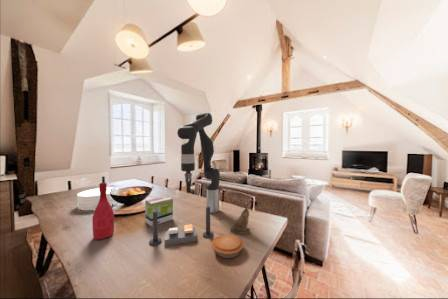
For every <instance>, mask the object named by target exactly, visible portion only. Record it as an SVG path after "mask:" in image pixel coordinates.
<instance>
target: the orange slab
mask: <svg viewBox="0 0 448 299" xmlns="http://www.w3.org/2000/svg"><path fill="white" fill-rule="evenodd" d="M193 228H194V227H193V224H192V223H190V224H185V225H183V229H184V234H185V233H193Z"/></svg>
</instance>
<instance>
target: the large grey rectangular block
mask: <svg viewBox="0 0 448 299" xmlns="http://www.w3.org/2000/svg"><path fill="white" fill-rule="evenodd" d="M192 228H193V233H185V234H184V228H181V229H179V228H178V230H177V233H174V234H168V232H169V230H167V231H165V236H164V246H171V245H172V246H173V245H179V244H186V243H192V242H197V232H196V227H192Z"/></svg>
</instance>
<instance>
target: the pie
mask: <svg viewBox="0 0 448 299" xmlns="http://www.w3.org/2000/svg"><path fill="white" fill-rule="evenodd" d="M211 246H212V249H213V250H214V251H215V253H216V254H217V255H218V256H219V257H220V258H225V259H232V258H235V257H237V256H238V255H239V254H240V252H241V251H242V250H243V249H244V241H243V240H242V239H241V238H240V237H238V236H236V235H234V234H222V235H218V236H216V237H215V238H214V239H213V240H212V242H211Z"/></svg>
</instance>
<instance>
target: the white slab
mask: <svg viewBox="0 0 448 299" xmlns="http://www.w3.org/2000/svg"><path fill="white" fill-rule="evenodd" d="M177 230H179V227H169V228H168V231H169V232H168V234H174V233H177Z"/></svg>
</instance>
